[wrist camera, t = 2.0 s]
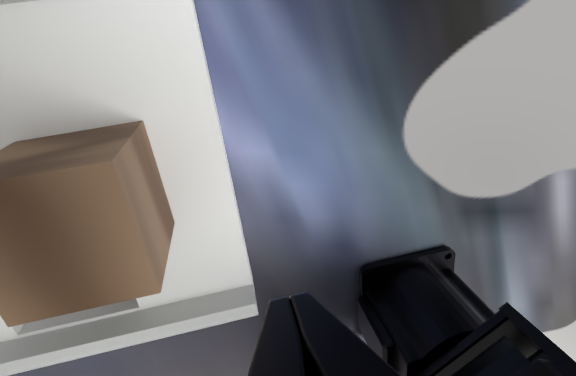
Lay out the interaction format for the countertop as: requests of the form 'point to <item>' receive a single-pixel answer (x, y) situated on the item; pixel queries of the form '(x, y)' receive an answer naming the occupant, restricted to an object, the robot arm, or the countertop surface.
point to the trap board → (165, 145)
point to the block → (80, 222)
